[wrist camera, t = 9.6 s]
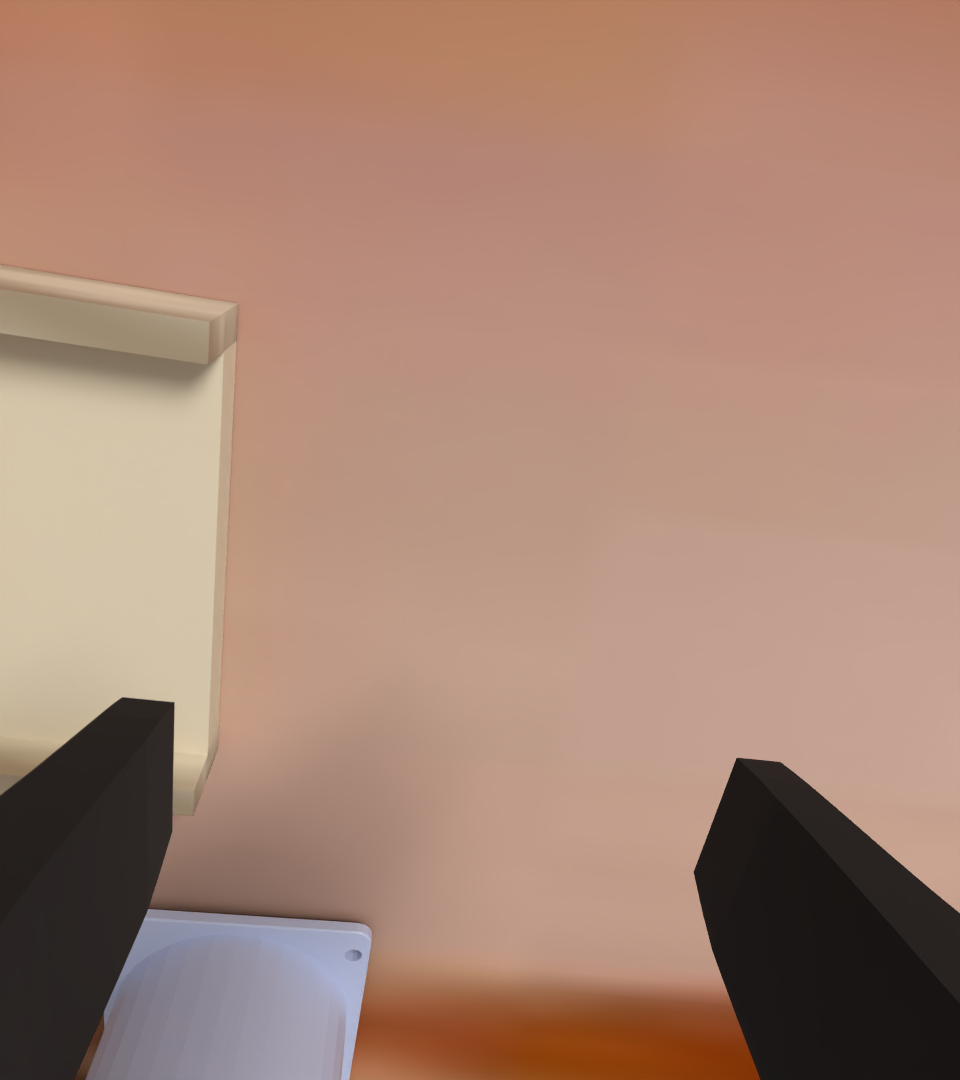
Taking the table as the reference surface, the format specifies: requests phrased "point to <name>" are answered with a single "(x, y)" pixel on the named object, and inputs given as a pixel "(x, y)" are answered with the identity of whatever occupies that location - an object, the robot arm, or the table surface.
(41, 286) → the rails
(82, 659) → the lane
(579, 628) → the table surface
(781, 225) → the table surface
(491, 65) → the table surface
